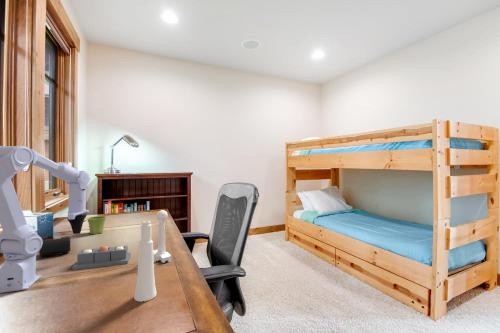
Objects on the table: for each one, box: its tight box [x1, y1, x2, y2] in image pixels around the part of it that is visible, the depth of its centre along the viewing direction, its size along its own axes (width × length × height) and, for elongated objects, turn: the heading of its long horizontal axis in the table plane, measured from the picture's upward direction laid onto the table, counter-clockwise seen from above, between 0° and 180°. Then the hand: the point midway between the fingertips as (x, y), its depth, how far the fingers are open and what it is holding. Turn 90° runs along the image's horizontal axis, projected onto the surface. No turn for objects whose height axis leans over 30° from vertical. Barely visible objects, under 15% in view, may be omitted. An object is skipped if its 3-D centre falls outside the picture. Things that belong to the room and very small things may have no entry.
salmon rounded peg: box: [99, 245, 109, 252], centre depth 94 cm, size 3×3×5 cm
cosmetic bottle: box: [133, 220, 157, 302], centre depth 70 cm, size 6×6×22 cm
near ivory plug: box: [83, 248, 92, 253], centre depth 92 cm, size 3×3×5 cm
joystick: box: [153, 209, 172, 264], centre depth 97 cm, size 11×8×20 cm
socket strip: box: [72, 245, 132, 271], centre depth 94 cm, size 9×18×5 cm, turn 111°
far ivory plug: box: [115, 245, 124, 250], centre depth 96 cm, size 3×3×5 cm
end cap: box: [38, 236, 71, 258], centre depth 101 cm, size 10×7×7 cm
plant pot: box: [86, 215, 107, 235], centre depth 134 cm, size 9×9×9 cm
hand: (76, 233), depth 96 cm, fingers closed
